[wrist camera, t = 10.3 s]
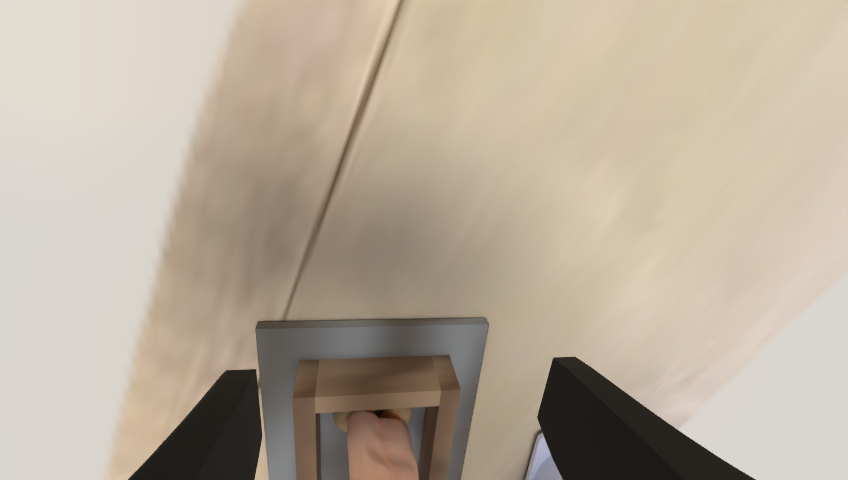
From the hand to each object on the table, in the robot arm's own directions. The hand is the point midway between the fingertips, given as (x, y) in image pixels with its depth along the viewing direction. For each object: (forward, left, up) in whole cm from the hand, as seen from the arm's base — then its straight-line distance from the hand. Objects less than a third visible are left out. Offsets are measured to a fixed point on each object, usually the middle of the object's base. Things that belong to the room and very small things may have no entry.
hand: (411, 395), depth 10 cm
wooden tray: (0, +13, -10) cm, 17 cm away
